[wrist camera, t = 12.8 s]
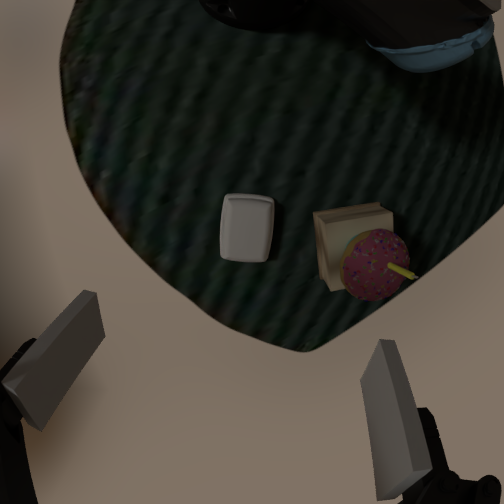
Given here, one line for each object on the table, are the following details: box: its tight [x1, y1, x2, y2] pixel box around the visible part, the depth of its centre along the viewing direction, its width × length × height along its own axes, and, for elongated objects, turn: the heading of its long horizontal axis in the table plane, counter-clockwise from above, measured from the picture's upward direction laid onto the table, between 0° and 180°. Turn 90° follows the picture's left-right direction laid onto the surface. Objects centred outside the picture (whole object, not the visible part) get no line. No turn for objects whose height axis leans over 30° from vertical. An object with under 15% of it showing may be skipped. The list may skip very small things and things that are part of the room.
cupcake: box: [340, 228, 418, 302], centre depth 31 cm, size 9×8×12 cm
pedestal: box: [313, 202, 393, 291], centre depth 39 cm, size 10×10×5 cm
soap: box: [220, 193, 274, 262], centre depth 39 cm, size 9×7×3 cm
